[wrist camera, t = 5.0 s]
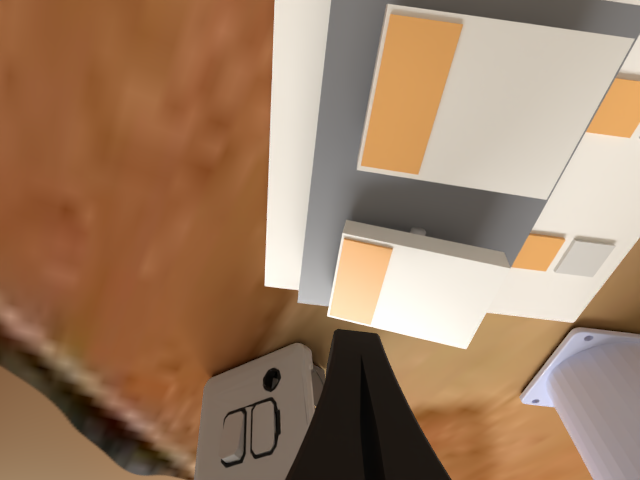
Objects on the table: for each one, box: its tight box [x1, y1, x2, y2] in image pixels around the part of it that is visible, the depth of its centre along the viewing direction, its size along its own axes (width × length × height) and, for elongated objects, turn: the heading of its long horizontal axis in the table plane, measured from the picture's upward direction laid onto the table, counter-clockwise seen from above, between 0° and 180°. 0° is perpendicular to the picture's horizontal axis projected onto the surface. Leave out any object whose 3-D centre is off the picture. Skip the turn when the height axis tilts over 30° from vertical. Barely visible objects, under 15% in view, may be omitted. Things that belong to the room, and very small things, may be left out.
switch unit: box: [265, 0, 640, 323], centre depth 15 cm, size 18×16×4 cm
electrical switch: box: [194, 343, 325, 480], centre depth 23 cm, size 9×5×9 cm, turn 124°
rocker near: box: [357, 4, 635, 200], centre depth 10 cm, size 6×4×1 cm
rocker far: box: [327, 220, 511, 349], centre depth 14 cm, size 6×4×1 cm
